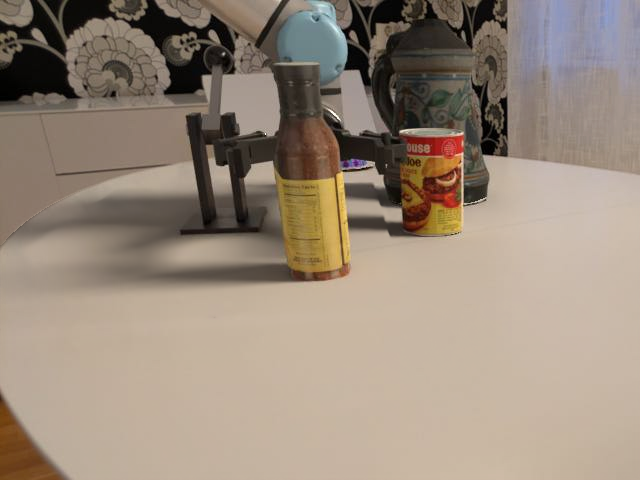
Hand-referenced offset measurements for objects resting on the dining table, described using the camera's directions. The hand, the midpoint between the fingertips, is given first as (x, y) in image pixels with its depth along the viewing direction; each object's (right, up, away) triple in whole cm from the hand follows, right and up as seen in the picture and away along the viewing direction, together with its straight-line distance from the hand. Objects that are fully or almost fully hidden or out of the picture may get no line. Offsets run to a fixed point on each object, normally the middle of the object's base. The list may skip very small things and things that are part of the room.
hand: (311, 162), depth 65 cm
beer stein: (+8, +6, +41) cm, 42 cm away
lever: (-17, +14, +21) cm, 31 cm away
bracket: (-16, -2, +21) cm, 27 cm away
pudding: (-10, +19, +67) cm, 70 cm away
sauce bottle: (0, -11, +2) cm, 11 cm away
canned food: (+10, -2, +22) cm, 24 cm away
